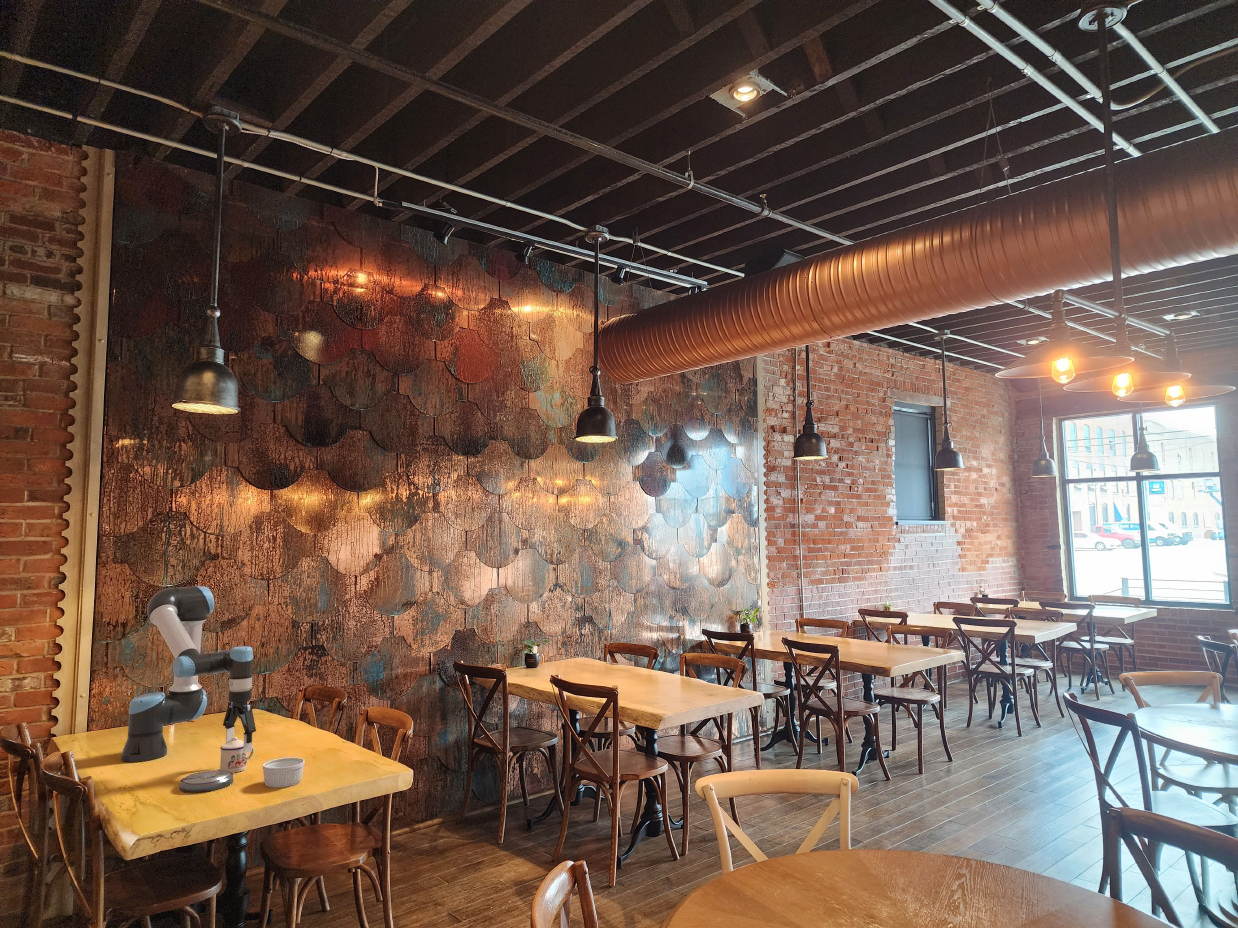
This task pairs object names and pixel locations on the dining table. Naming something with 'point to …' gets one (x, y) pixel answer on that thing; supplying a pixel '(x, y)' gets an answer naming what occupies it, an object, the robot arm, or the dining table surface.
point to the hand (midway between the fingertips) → (238, 749)
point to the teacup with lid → (234, 756)
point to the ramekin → (283, 772)
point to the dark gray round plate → (206, 781)
